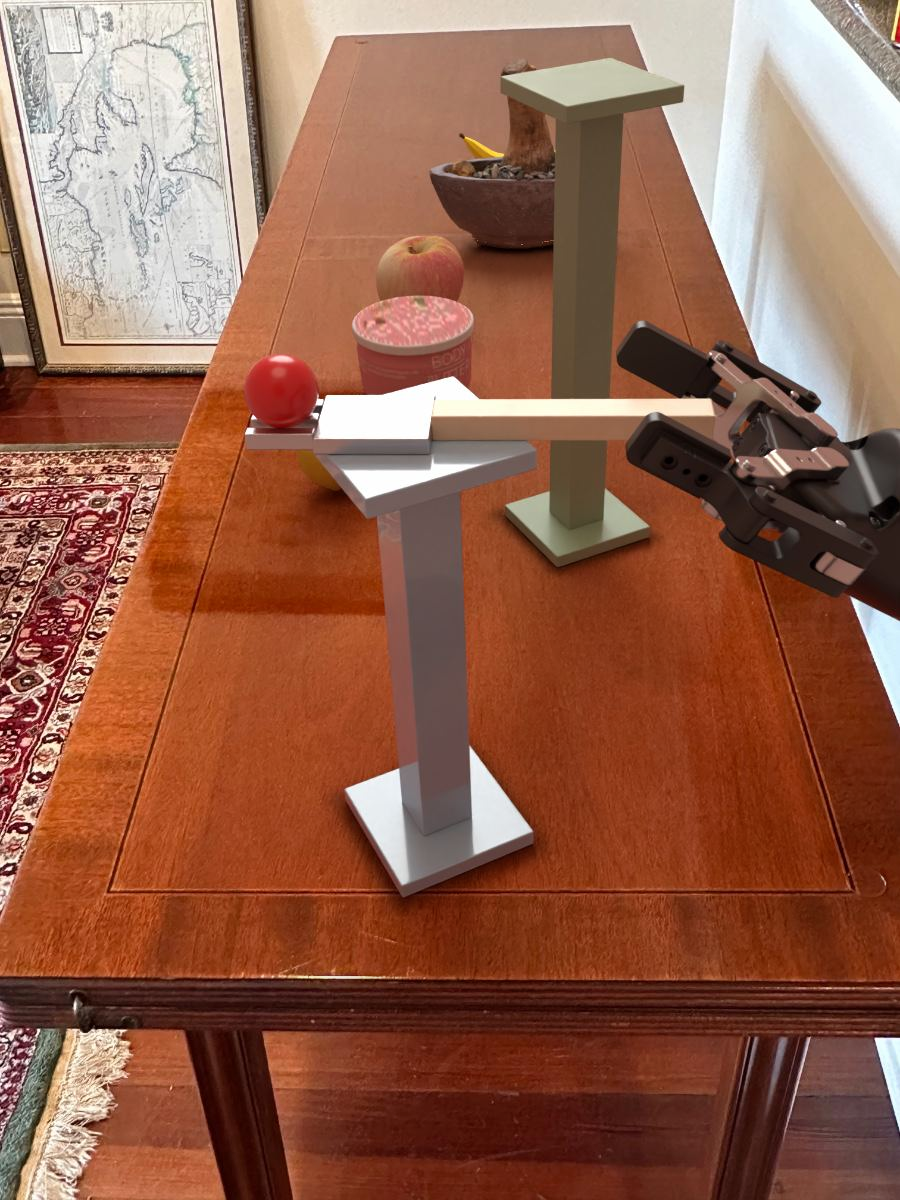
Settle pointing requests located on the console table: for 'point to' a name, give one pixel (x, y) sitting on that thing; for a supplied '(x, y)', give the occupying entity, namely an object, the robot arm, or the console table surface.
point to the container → (413, 343)
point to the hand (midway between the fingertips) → (630, 383)
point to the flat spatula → (431, 416)
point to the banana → (479, 149)
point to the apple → (420, 269)
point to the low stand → (430, 658)
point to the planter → (505, 183)
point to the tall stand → (584, 291)
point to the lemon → (315, 470)
